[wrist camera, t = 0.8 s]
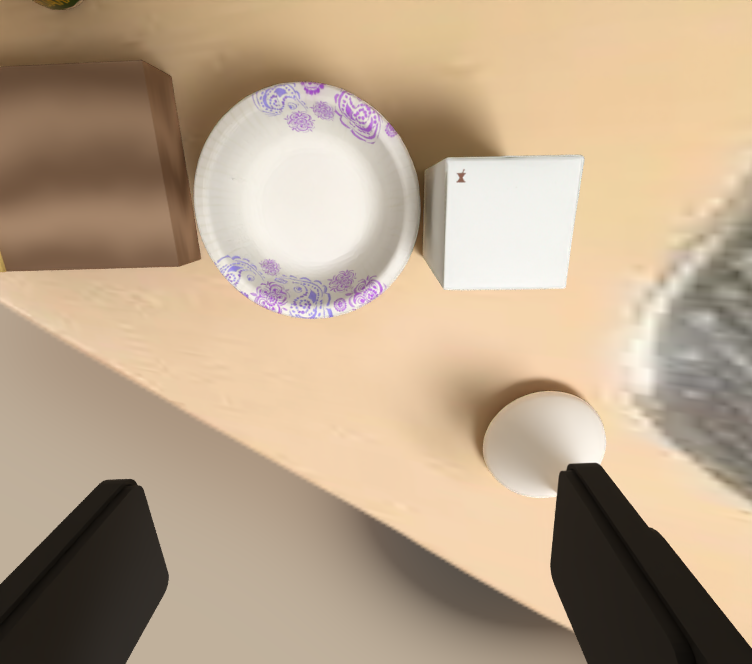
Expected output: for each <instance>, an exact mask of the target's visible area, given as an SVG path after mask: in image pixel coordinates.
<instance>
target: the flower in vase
mask: <svg viewBox="0 0 752 664" xmlns="http://www.w3.org/2000/svg"><path fill="white" fill-rule="evenodd" d="M605 449H606V436H605V431H604V426H603V423H602V420H601V418H600V416H599V415H598V413H597V412H596V411H595V409H594V408H593V407H592V406H591V405H590V404H588V403H587V402H586V401H584V400H583V399H581V398H579V397H577V396H575V395H572V394H569V393H565V392H559V391H542V392H536V393H532V394H528V395H525V396H523V397H520V398H518V399H516V400H514V401H513V402H511V403H509V404H508V405H507V406H505V407H504V408H503V409H502V410H501V411H500V412H499V413H498V414H497V415H496V416H495V417H494V418H493V420H492V421H491V423H490V424H489V426H488V428H487V431H486V433H485V437H484V441H483V456H484V460H485V463H486V466H487V468H488V470H489V471H490V473H491V474H492V475H493V477H494V478H495V479H496V480H497V481H498V482H500V483H501V484H502V485H503V486H505V487H506V488H507V489H509V490H511V491H513V492H515V493H517V494H520V495H523V496H527V497H534V498H547V497H555V496H557V489H558V478H559V473H560V471H566V469H567V466H568V464H571V463H598V464H599V465H600V464H601V462H602V459H603V457H604V453H605Z"/></svg>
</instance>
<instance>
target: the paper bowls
mask: <svg viewBox="0 0 752 664" xmlns="http://www.w3.org/2000/svg"><path fill="white" fill-rule="evenodd" d="M194 209H195V216H196V221H197V225H198V229H199V232H200V235H201V238H202V241H203V243H204V245H205V248H206V250H207V252H208V254H209V256H210V257H211V259H212V261H213V262H214V263H215V265H216V267H217V268H218V269H219V271H220V272H221V273H222V275H223V276H224V277H225V278H226V279H227V280H228V281H229V283H230V284H232V285H233V286H234V287H235V288H236V289H237V290H238V291H239V292H240V293H242V294H243V295H244V296H246V297H247V298H248V299H250V300H251V301H253V302H254V303H256V304H258V305H260V306H262V307H264V308H266V309H268V310H271V311H273V312H276V313H279V314H283V315H286V316H291V317H297V318H305V319H319V318H320V319H322V318H329V317H334V316H339V315H342V314H346V313H349V312H352V311H354V310H356V309H359V308H361V307H362V306H364V305H366V304H367V303H369V302H371V301H372V300H374V299H375V298H376V297H378V296H379V295H380V294H382V293H383V292H384V291H385V290H386V289H387V288H389V287H390V285H391V284H392V283H393V282H394V281H395V280H396V278H397V277H398V276H399V274H400V273H401V272H402V270H403V269H404V267H405V265H406V264H407V262H408V259H409V258H410V255H411V253H412V250H413V248H414V245H415V242H416V238H417V234H418V229H419V224H420V211H421V207H420V193H419V183H418V178H417V173H416V170H415V167H414V164H413V161H412V159H411V157H410V155H409V153H408V150H407V148H406V146H405V144H404V142H403V141H402V139H401V137H400V136H399V134H398V133H397V132H396V131H395V129H394V128H393V127H392V126H391V124H390V123H389V122H388V121H387V120H386V119H385V118H384V117H383V115H382V114H380V113H379V112H378V111H377V110H376V109H375V108H374V107H372V106H371V105H369V104H368V103H367V102H365V101H363V100H361V99H360V98H359V97H356V96H355V95H354V94H352V93H350V92H347V91H345V90H343V89H342V88H338V87H335V86H332V85H328V84H323V83H316V82H307V81H305V82H299V81H298V82H288V83H280V84H276V85H273V86H270V87H266V88H263V89H261V90H259V91H256V92H254V93H252V94H250V95H248V96H246V97H245V98H244V99H242V100H241V101H239V102H238V103H237V104H236V105H235V106H233V107H232V108H231V109H230V110H229V111H228V112H227V113H226V114H225V115H224V116H223V117H222V118H221V119H220V120H219V121H218V123H217V124H216V125H215V127H214V128H213V130H212V131H211V133H210V135H209V137H208V138H207V140H206V142H205V144H204V146H203V149H202V151H201V154H200V157H199V160H198V164H197V169H196V173H195V179H194Z"/></svg>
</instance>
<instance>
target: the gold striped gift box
mask: <svg viewBox="0 0 752 664" xmlns="http://www.w3.org/2000/svg"><path fill="white" fill-rule="evenodd" d="M200 259H201V255H200V249H199V243H198V237H197V231H196V225H195V219H194V213H193V207H192V201H191V194H190V188H189V182H188V176H187V170H186V164H185V158H184V152H183V146H182V139H181V133H180V127H179V121H178V115H177V109H176V103H175V97H174V91H173V85H172V78H171V76H170V75H168V74H166V73H164V72H162V71H160V70H159V69H157V68H155V67H153V66H151V65H150V64H148V63H146V62H144V61H142V60H136V61H115V62H93V63H71V64H50V65H28V66H7V67H0V272H6V271H38V270H74V269H109V268H144V267H179V266H182V265H185V264H188V263H191V262H194V261H197V260H200Z"/></svg>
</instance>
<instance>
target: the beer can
mask: <svg viewBox="0 0 752 664" xmlns="http://www.w3.org/2000/svg"><path fill="white" fill-rule="evenodd" d="M33 1H35V2H36V3H38V4H40V5H42V6H45V7H47V8H50V9H56V10H66V9H71V8H74V7H76V6H79V5H80V4H81V3H82V2H83V1H84V0H33Z"/></svg>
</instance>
